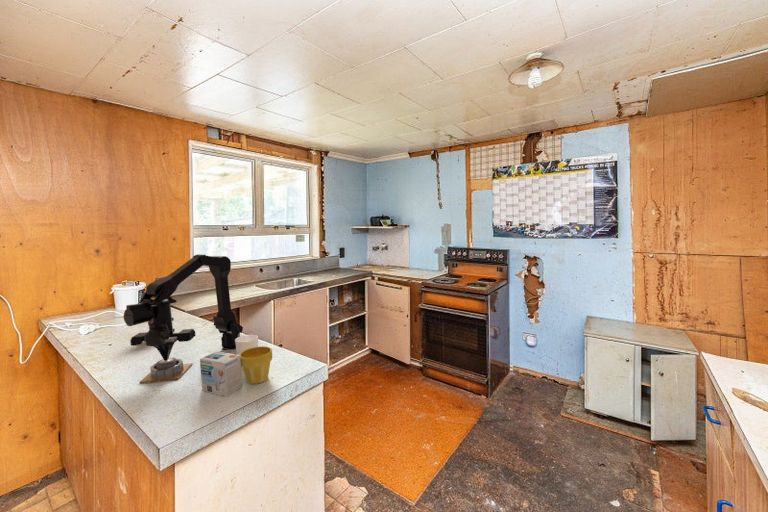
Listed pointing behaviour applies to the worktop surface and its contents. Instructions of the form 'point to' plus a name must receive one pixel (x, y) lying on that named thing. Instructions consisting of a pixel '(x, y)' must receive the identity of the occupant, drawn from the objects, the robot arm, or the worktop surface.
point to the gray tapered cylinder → (166, 363)
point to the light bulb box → (221, 373)
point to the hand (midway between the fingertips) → (166, 360)
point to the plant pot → (256, 363)
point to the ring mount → (166, 372)
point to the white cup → (246, 342)
